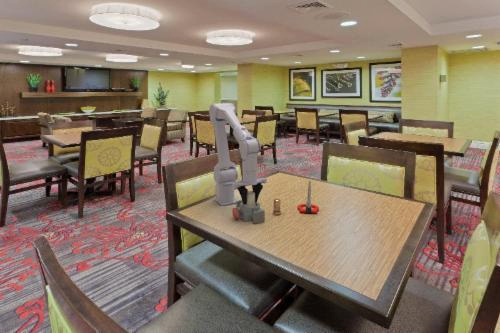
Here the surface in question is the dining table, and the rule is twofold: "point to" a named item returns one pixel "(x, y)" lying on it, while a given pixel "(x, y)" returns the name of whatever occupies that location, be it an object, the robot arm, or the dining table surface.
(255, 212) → the valve
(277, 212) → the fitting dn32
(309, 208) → the tow hook
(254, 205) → the cylinder
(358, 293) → the dining table surface
